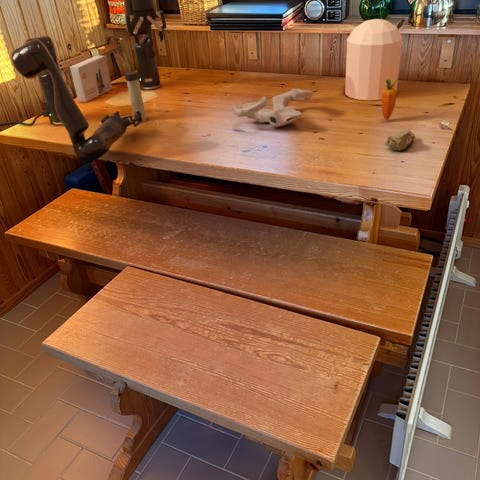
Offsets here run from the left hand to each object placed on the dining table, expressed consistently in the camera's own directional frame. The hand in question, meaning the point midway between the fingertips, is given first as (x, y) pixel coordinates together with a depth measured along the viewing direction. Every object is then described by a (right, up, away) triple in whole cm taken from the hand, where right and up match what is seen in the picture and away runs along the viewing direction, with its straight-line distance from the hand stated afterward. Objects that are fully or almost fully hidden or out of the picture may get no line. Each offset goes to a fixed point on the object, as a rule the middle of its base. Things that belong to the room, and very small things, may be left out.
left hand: (128, 113), depth 177 cm
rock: (+94, -18, -29) cm, 101 cm away
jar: (+2, 0, +11) cm, 11 cm away
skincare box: (-27, +21, +46) cm, 57 cm away
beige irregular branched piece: (+57, -6, -5) cm, 58 cm away
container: (+97, +13, +16) cm, 99 cm away
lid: (+1, +16, +1) cm, 16 cm away
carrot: (+95, -6, -11) cm, 96 cm away
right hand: (+8, +27, -1) cm, 28 cm away
